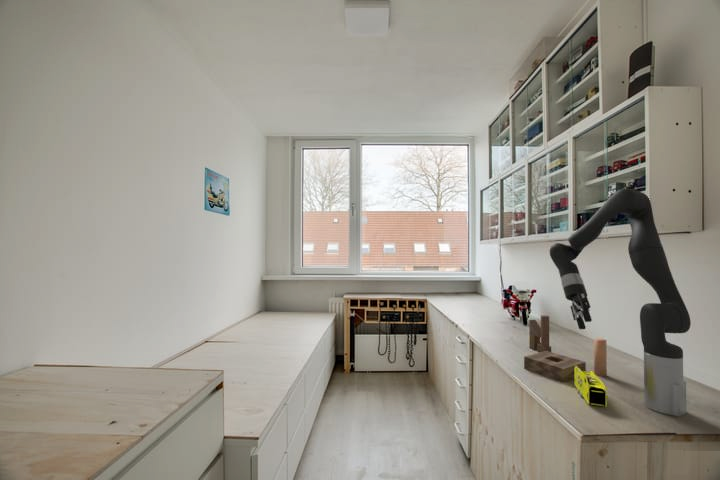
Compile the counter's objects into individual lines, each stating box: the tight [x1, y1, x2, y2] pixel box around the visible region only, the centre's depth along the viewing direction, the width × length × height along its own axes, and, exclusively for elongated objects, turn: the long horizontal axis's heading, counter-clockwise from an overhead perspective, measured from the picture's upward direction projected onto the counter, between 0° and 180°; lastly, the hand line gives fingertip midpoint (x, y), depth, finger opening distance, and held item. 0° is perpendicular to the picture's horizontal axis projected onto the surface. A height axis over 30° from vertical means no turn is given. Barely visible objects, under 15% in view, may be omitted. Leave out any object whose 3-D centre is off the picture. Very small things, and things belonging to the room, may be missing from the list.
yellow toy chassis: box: [573, 366, 608, 408], centre depth 113 cm, size 16×6×8 cm, turn 160°
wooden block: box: [528, 314, 552, 353], centre depth 162 cm, size 4×11×18 cm, turn 12°
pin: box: [593, 338, 608, 378], centre depth 132 cm, size 4×4×14 cm
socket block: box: [523, 351, 587, 383], centre depth 135 cm, size 16×16×5 cm
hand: (585, 325), depth 126 cm, fingers open, 8 cm apart
